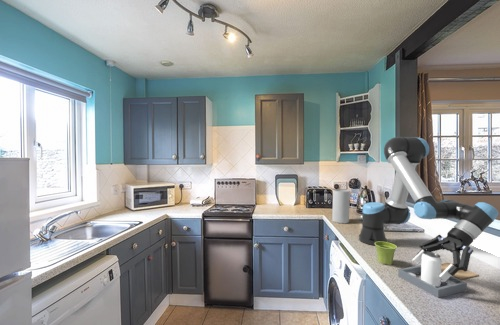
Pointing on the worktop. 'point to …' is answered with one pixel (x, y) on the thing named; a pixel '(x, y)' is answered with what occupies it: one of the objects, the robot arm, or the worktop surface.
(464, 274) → the pad
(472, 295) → the worktop surface
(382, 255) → the plant pot
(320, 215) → the worktop surface
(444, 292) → the tray
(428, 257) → the can
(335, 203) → the cylinder vase
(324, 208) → the worktop surface
